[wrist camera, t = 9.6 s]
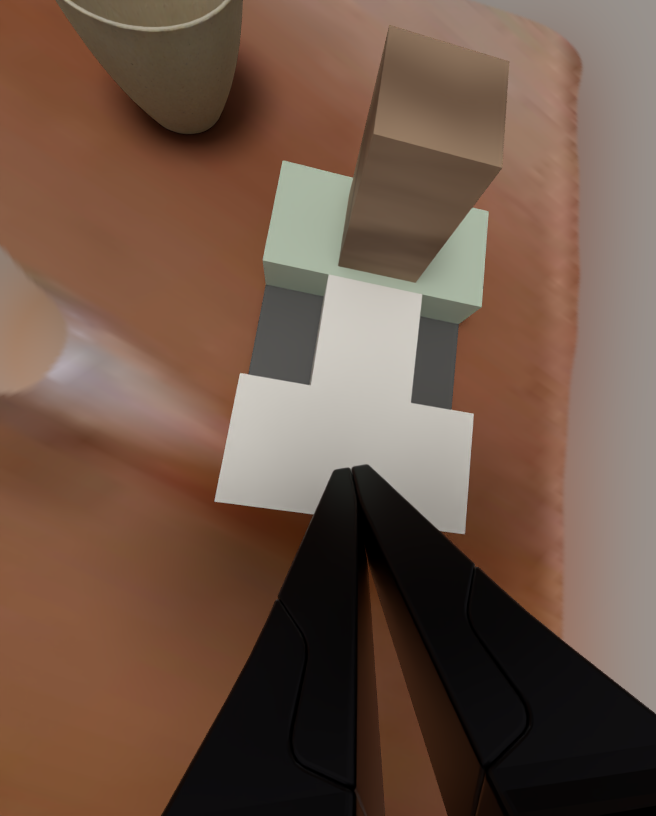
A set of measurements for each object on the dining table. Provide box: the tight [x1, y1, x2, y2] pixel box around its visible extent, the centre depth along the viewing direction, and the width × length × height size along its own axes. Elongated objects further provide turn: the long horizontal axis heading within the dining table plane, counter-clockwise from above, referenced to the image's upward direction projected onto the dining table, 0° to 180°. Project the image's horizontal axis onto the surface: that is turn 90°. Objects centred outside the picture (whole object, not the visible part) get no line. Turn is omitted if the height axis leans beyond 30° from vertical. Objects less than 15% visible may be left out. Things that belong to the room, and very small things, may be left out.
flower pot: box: [56, 0, 243, 134], centre depth 19 cm, size 10×10×7 cm
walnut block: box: [338, 25, 509, 283], centre depth 16 cm, size 5×5×8 cm
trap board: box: [215, 161, 488, 534], centre depth 20 cm, size 21×14×3 cm, turn 171°
